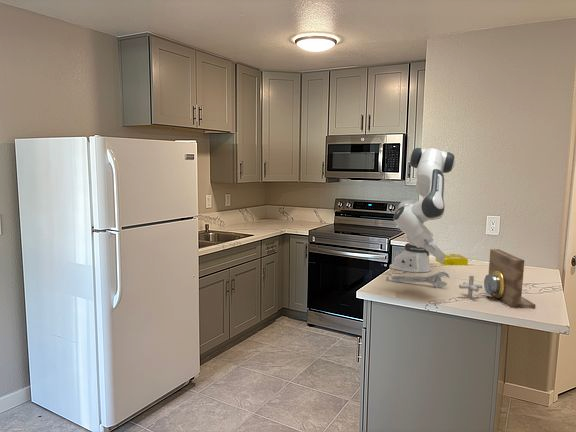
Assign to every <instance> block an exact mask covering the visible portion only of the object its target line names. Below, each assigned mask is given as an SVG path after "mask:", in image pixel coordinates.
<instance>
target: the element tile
mask: <svg viewBox="0 0 576 432" xmlns="http://www.w3.org/2000/svg"><path fill="white" fill-rule="evenodd" d="M444 254H445V256H444V259H445V261H444V262H441V261H440V260H438V259H437V258H436V257H435V261H436V262H438V263H439V264H441V265H444V266H468V263H469V260H468V257H465V256H463V255H461V254H459V253H444Z"/></svg>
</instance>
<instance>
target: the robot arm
mask: <svg viewBox="0 0 576 432" xmlns="http://www.w3.org/2000/svg"><path fill="white" fill-rule="evenodd" d="M408 157H409V158H408V159H409V165H410V166H411V167H412V168H414V169H416V174H415V175H416V182H415V187H414V188H415V192H416V193H417V194H418V195H420V196H421V197H422V198H421V199H416V200H415V199H414V200H413V199H411V200H410V199H408V200H405V201H404V200H402V201H400V203H399V204H398V206H397V210H396V211H395V212H394V214H393V221H394V223H395V225H396V226H397V227H398V228H399V229H400V231H401V232H402V233H403V234H404V235H407V237H408V242H407V243H405V245H404V250H402V251H401V252H400V253H399V254H397V255H396V256H395V257H394V259H393V262H392V263H390V264H389V269H391V270H392V269H393V270H398V271H404V272H409V273H415V274H416V273H427V272H428V273H429V272H431V271H432V269H431V264H430V255H432V256H433V257H435V259H436V258H437V259H438V260H440V261H441V262H444V261H445V259H444V256H445V254H446V253H445V252H444V251H443V250H442V249H441V247H439V246H438V245H437V244H436V243H435V242H434V238H433V236H434V235H433V233H432V231H430V230H429V229H428V227H427V226H425V225H424V223H426V222H428V221H435V220H439V219H441V218H442V217H443V216H444V214H445V201H444V192H445V191H444V190H445V175H444V174H447V173H451V172H452V170H453V169H454V168H455V165H456V158H455V154H454V153H452V152H449V151H443V150H439V149H437V148H433V147H431V148H422V147H415V148H413V149H412V151H411V153H410V154H409V156H408Z"/></svg>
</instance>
